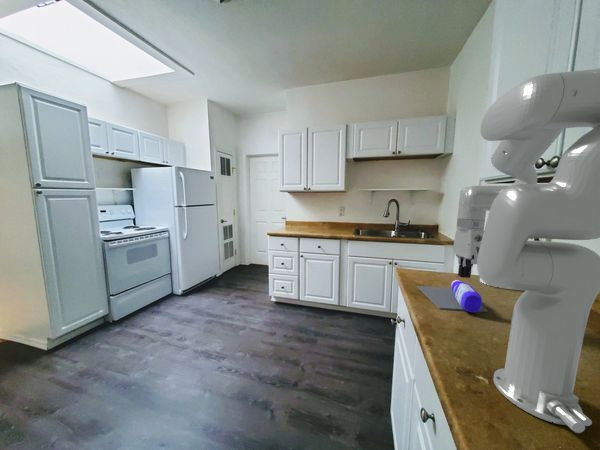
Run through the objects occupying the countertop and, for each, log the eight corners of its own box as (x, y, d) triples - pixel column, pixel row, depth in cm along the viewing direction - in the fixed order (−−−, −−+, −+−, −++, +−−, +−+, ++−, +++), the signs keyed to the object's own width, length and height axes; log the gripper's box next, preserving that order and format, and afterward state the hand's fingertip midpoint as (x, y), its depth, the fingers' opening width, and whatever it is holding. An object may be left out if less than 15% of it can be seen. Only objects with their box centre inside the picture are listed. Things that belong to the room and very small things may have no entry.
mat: (487, 312, 81) (487, 310, 81) (439, 309, 83) (439, 307, 83) (455, 289, 101) (455, 287, 101) (416, 287, 103) (417, 285, 103)
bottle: (460, 311, 80) (446, 290, 96) (479, 316, 78) (462, 294, 95) (466, 291, 79) (451, 274, 95) (485, 296, 77) (467, 277, 93)
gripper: (498, 227, 71) (491, 285, 73) (468, 221, 85) (462, 270, 88) (472, 227, 71) (465, 284, 74) (446, 221, 86) (441, 269, 89)
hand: (464, 276), depth 81 cm, fingers closed
